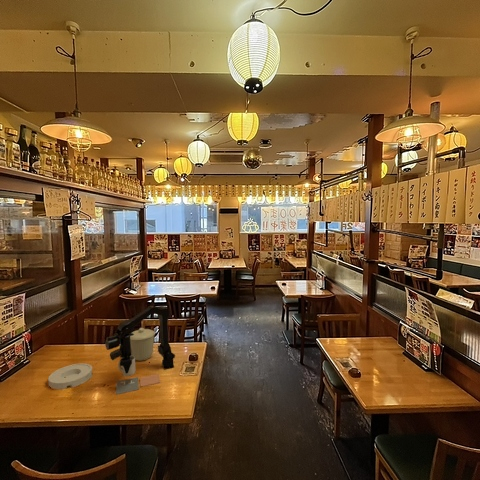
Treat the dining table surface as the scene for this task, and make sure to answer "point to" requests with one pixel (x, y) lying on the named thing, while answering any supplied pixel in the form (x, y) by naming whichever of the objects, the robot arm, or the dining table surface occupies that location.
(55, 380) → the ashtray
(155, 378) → the coaster pad
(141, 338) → the canister
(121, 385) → the tile
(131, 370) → the cup
